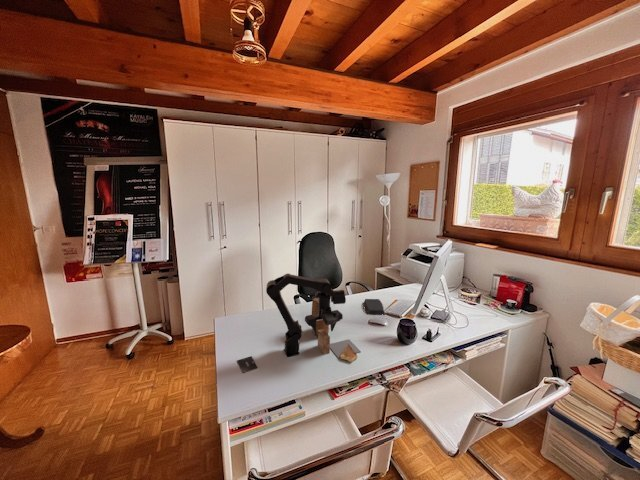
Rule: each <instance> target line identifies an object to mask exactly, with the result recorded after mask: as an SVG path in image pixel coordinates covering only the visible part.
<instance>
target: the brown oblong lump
mask: <svg viewBox="0 0 640 480" xmlns="http://www.w3.org/2000/svg"><path fill="white" fill-rule="evenodd" d="M318 305H319V297H315V298H313V299H312V301H311V315H313V316H314V317H317V316H318V314H317V312H318ZM316 325H317V326H316V335H315V336H318V330H321V329H324V331H325V332H326V333H327V334H328V335H329V329H330V328H329V327H330V325H325V322H324V321H323V320H319V321H316ZM311 330H312V331H313V329H312V328H311Z"/></svg>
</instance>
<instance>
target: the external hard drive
mask: <svg viewBox="0 0 640 480" xmlns="http://www.w3.org/2000/svg"><path fill="white" fill-rule="evenodd" d="M363 308H364V310H365V312H366V314H367V315H369V316H385V315H386V312H385V306H384V305H383V303H382V301H381V299H379V298H365V299H364V301H363ZM382 314H383V315H382Z"/></svg>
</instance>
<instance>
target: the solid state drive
mask: <svg viewBox="0 0 640 480" xmlns="http://www.w3.org/2000/svg"><path fill="white" fill-rule="evenodd" d="M236 361H237V364H238V367H239V369H240V370H241V372H242V374H245V373H248V372H250V371H254V370H256V369H258V368H259V367H258V365H257V363H256V361H255V359H254V358H253V357H252V355H251V356H247V357H244V358H241V359H238V360H236Z"/></svg>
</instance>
